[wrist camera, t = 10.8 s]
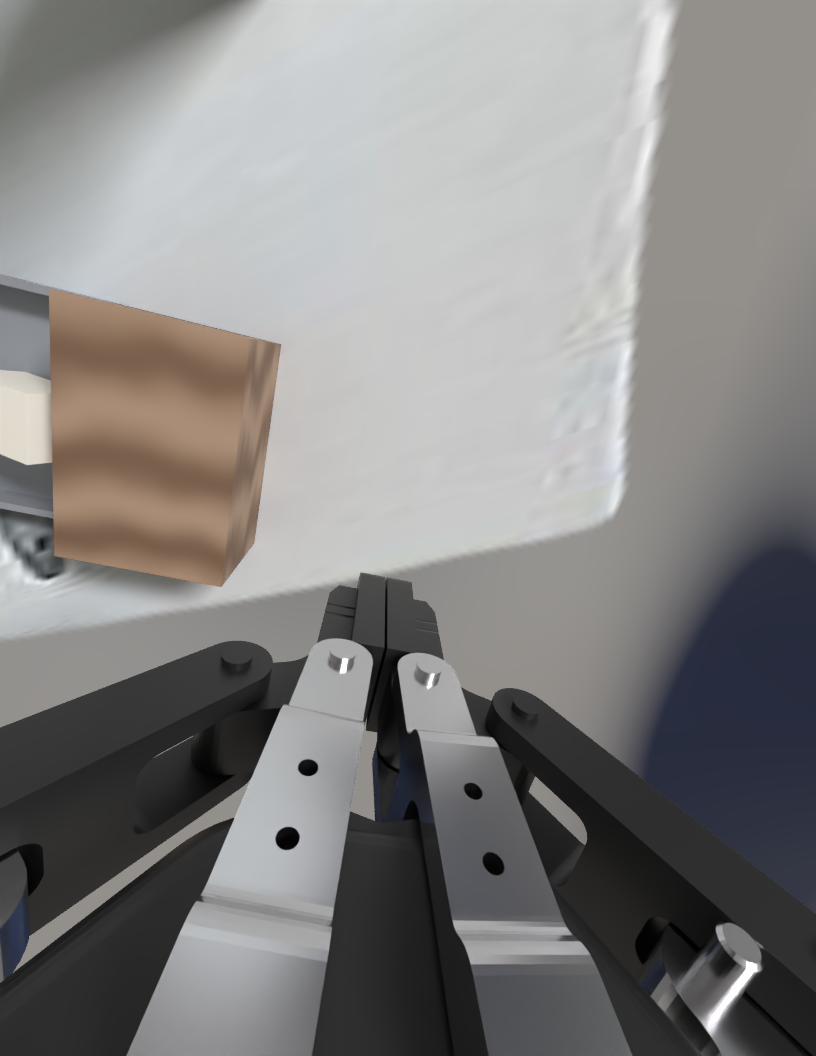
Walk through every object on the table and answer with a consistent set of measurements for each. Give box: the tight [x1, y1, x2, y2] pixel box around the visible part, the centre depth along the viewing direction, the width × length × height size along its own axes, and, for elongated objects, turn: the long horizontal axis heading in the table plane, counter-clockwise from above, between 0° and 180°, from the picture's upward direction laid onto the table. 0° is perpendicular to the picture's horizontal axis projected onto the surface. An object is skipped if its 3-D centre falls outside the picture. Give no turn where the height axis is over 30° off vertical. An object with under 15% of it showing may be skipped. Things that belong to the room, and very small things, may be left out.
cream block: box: [0, 370, 52, 465], centre depth 34 cm, size 5×5×8 cm
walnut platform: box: [49, 289, 281, 587], centre depth 35 cm, size 18×12×9 cm, turn 167°
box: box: [0, 274, 121, 518], centre depth 36 cm, size 18×15×3 cm
